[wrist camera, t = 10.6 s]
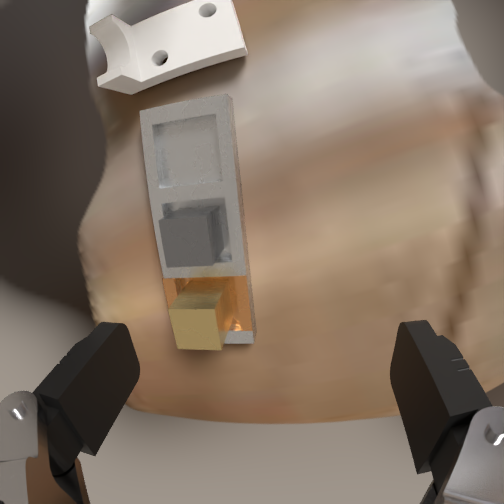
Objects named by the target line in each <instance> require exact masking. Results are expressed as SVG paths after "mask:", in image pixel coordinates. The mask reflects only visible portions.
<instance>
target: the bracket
mask: <svg viewBox="0 0 504 504" xmlns="http://www.w3.org/2000/svg"><path fill="white" fill-rule="evenodd" d="M89 28H90V34H92V35H93V36H94V37H96V38H97V39H98V41H99V42H100V43H101V45H102V47H103V49H104V51H105V54H106V57H107V63H108V68H107V72H106V73H105V74H103V75H101V76H99V77H97V83H98V87H102V88H107V89H111V90H115V91H119V92H122V93H126V94H130V95H132V94H135V93H137V92H139V91H142V90H144V89H146V88H149V87H151V86H154V85H156V84H159V83H161V82H164V81H167V80H169V79H172V78H175V77H177V76H180V75H183V74H186V73H189V72H192V71H195V70H198V69H201V68H204V67H207V66H210V65H214V64H217V63H220V62H224V61H227V60H231V59H234V58H238V57H242V56H246V55H248V53H247V49H246V46H245V42H244V39H243V35H242V32H241V27H240V24H239V21H238V18H237V14H236V11H235V8H234V5H233V2H232V0H194V1H191V2H188V3H185V4H183V5H180V6H177V7H174V8H172V9H169V10H167V11H164V12H162V13H159V14H157V15H154V16H152V17H150V18H147V19H145V20H143V21H141V22H139V23H136V24H134V25H132V26H130V25H128V24H127V23H125V22H123V21H122V20H120V19H119V18H117V17H115V16H114V15H112V14H111V15H109V16H107V17H105V18H104V19H102V20H100V21H98V22H96V23H95V24H93V25H91V26H90V27H89ZM167 57H168V59H167V61H166V63H165V64H163V65H162V62H163V60H164V59H165V58H167Z"/></svg>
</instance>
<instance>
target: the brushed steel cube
mask: <svg viewBox="0 0 504 504" xmlns="http://www.w3.org/2000/svg"><path fill="white" fill-rule="evenodd" d="M158 221H159V227H160V233H161V239H162V245H163V250H164V256H165V261H166V266H167V268H171V267H195V266H213V265H214V264H215V262H216V260H217V259H218V257H219V256H220V254H221V253H222V251H223V250H224V241H223V233H222V225H221V217H220V209H219V206H208V207H197V208H187V209H177V210H175V211H174V212H172V213H170V214H168V215H167V216H165V217H163V218H162V219H160V220H158Z"/></svg>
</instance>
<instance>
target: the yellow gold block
mask: <svg viewBox="0 0 504 504" xmlns="http://www.w3.org/2000/svg"><path fill="white" fill-rule="evenodd" d="M168 312H169V316H170V320H171V324H172V328H173V332H174V336H175V340H176V344H177V348H178V349H194V350H222V348H223V345H224V342H225V339H226V336H227V334H228V331H229V328H230V325H231V322H232V319H233V310H232V303H231V296H230V289H229V282H228V280H212V281H188V283H187V284H186V285H185V287H184V288H183V289H182V291H181V292H180V293H179V295H178V296H177V298H176V299H175V300H174V302H173V303H172V304H171V306H170V307H169V308H168Z"/></svg>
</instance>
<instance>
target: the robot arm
mask: <svg viewBox="0 0 504 504" xmlns="http://www.w3.org/2000/svg"><path fill="white" fill-rule="evenodd" d="M139 375H140V365H139V361H138V358H137V355H136V352H135V349H134V346H133V343H132V340H131V337H130V333H129V330H128V328H127V326H126V325H125V324H122V323H110V322H101V323H100V324H99V325H98V326H97V327H96V328H95V329H94V330H93V331H92V332H91V334H89V336H88V337H86V338H84V339H83V340H81V341H80V342H78V343H76V344H75V345H74V346H73V347H72V349H71V350H70V351H69V352H68V353H67V356H64V357H63V359H62V360H61V361H60V364H57V365H56V366H55V367H54V369H53V370H52V371H51V372H50V373H49V374H48V375H47V377H46V378H45V379H44V380H43V381H42V382H41V384H40V385H39V386H38V387H37V388H36V389H35V391H34V392H33V393H31V392H28V391H18V392H14V393H12V394H10V395H8V396H7V397H5V398H4V399H3V400H2V401H1V403H0V504H90V501H89V497H88V493H87V489H86V485H85V481H84V476H83V472H82V467H81V463H80V461H79V459H78V458H77V456H78V454H79V453H80V451H81V452H84V453H87V454H90V455H93V456H96V454H97V452H98V450H99V448H100V446H101V445H102V443H103V441H104V439H105V438H106V436H107V434H108V432H109V430H110V429H111V427H112V425H113V423H114V422H115V420H116V418H117V416H118V414H119V413H120V411H121V409H122V408H123V406H124V404H125V402H126V401H127V399H128V397H129V395H130V394H131V392H132V390H133V389H134V387H135V385H136V383H137V382H138V379H139ZM390 380H391V385H392V389H393V392H394V395H395V398H396V401H397V404H398V407H399V411H400V414H401V417H402V420H403V424H404V427H405V431H406V434H407V438H408V441H409V445H410V449H411V452H412V456H413V459H414V464H415V468H416V472H417V474H420V473H425V472H429V471H431V472H432V475H433V481H432V482H431V484H430V485H429V487H428V489H427V491H426V493H425V495H424V497H423V499H422V501H421V502H420V504H504V408H502V407H493V406H492V404H491V402H490V401H489V399H488V397H487V396H486V394H485V392H484V390H483V388H482V387H481V385H480V383H479V382H478V380H477V378H476V377H475V375H474V373H473V372H472V370H471V369H469V365H468V364H467V362H466V360H465V359H464V360H463V356H462V354H461V353H460V351H459V349H458V348H457V346H456V345H455V344H454V343H452V342H451V341H450V340H448V339H447V338H446V337H444V336H443V335H441V336H437V335H436V333H435V332H434V330H433V329H432V327H431V326H430V324H429V323H428V321H427V320H420V321H410V322H402V323H400V325H399V328H398V332H397V337H396V343H395V347H394V352H393V357H392V361H391V367H390Z"/></svg>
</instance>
